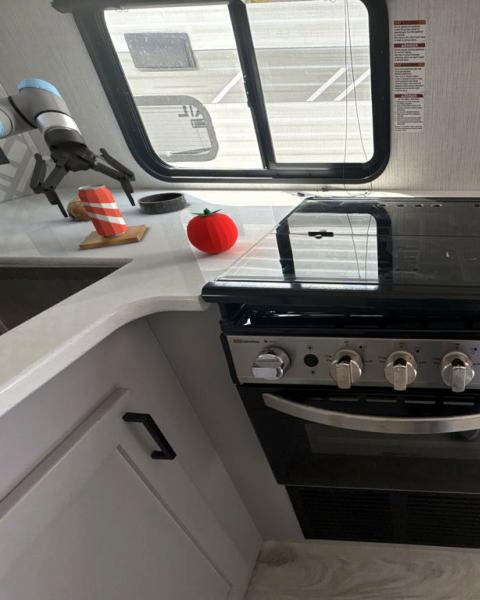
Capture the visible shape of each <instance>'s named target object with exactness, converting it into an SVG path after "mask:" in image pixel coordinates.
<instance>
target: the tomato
mask: <svg viewBox="0 0 480 600" xmlns="http://www.w3.org/2000/svg"><path fill="white" fill-rule="evenodd" d="M221 210H222V208H219V209H217V210H214V211H211V210H210V209H209V208H207V207H206V208H205V209H203V210H202V211H203V212H202V213H201V212H191V214H192V215H196V216H194V217H192V218H191V219H190V220H188V223H187V225H186V236H187V240H188V241H189V243H190V244H191V246H193V247H194V248H195V249H197V250H198V251H201V252H203V253H206V254H212V255H213V254H214V255H215V254H222V253H225V252H226V251H229V250H230V249H232V247H234V246H235V245H236V242H237V240H238V239H239V238H238V237H239V230H238V227H237V225H236V224H235V223H236V222H234V220H233V219H232V218H231V217H230V216H228V215H227V214H225V213H221V212H220V211H221Z"/></svg>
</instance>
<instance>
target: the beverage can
mask: <svg viewBox="0 0 480 600" xmlns="http://www.w3.org/2000/svg"><path fill="white" fill-rule="evenodd" d="M77 190H78V193H77V197H79V198H80V200H81V202H82V204H83V206H84V208H85V210H86V212H87V214H88V216H89V217H90V219H91V220H90V222H91V224H92V225H93V227H94V229H95V231H97V233H98V234H99V235H100V236H104V237H113V236H118V235H121V234H123V233H125V231H126V230H128V228H127V227H128V226H127V223H126V222H125V220H124V218H123V215H122V214H121V211H120V209H119V206H118V205H117V203H116V200H115V198H114V196H113V194H112V192H111V191H110V190H109V189H108V188H106V186H105V185H104V184H88V185H83V186H79V187H77Z"/></svg>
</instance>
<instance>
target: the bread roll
mask: <svg viewBox="0 0 480 600" xmlns="http://www.w3.org/2000/svg"><path fill="white" fill-rule="evenodd" d="M66 213H67V215H68V216H69V217H68V218H70V220H71V221H75V222H76V221H77V222H78V221H81V222H89V221H91V219H90V217H89V216H88V214H87V212H86V210H85V208H84V206H83V204H82V202H81V200H80V198H79V196H76V197H73V198H72V199H71V200H69V202H68V203H67V206H66Z"/></svg>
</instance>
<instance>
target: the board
mask: <svg viewBox="0 0 480 600" xmlns="http://www.w3.org/2000/svg"><path fill="white" fill-rule="evenodd" d="M127 228H128V230H126V231H125V233H123V234H121V235H118V236H113V237H104V236H100V235H99V234H98V233H97V231H96V230H92V231H91V232H90V233H89V234H88V235H87V236H86V237H85V238H84V239H83V240H82V241H81V242H80V243H79V244H78V247H79V248H80V250H88V249H90V250H91V249H97V248H103V247H111V246H117V245H125V244H132V243H138V242H140V240H141V239H142V238H143V236H144V234H145V232H146V231H147V225H146V224H138V225H130V226H127Z"/></svg>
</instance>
